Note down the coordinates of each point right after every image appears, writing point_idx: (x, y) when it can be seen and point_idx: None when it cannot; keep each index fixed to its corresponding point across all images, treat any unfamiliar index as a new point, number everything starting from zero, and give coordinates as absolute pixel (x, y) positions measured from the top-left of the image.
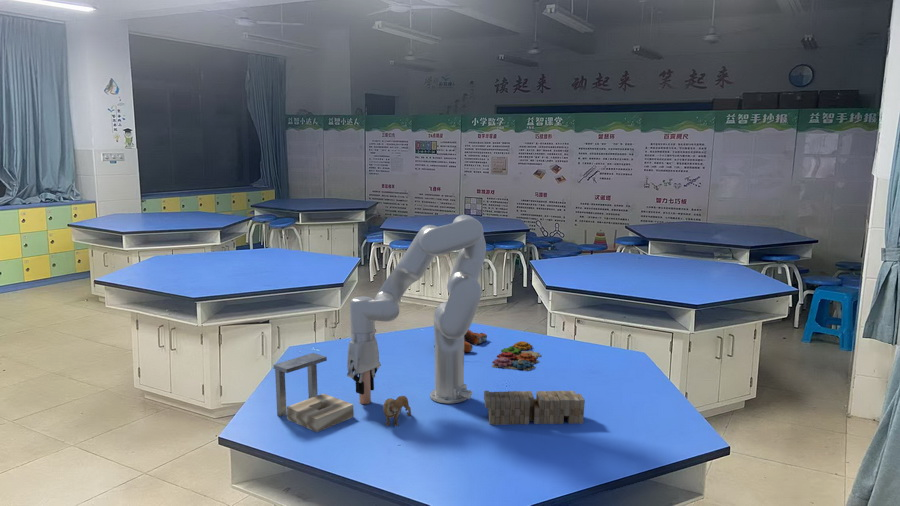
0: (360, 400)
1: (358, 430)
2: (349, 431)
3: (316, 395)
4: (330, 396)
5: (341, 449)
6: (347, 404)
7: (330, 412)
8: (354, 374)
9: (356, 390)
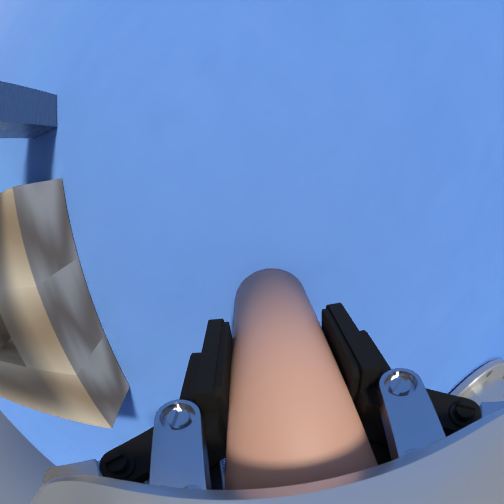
0: (234, 311)
1: (115, 440)
2: (90, 428)
3: (21, 125)
4: (27, 269)
5: (64, 448)
6: (87, 412)
7: (24, 401)
8: (154, 473)
9: (194, 357)
